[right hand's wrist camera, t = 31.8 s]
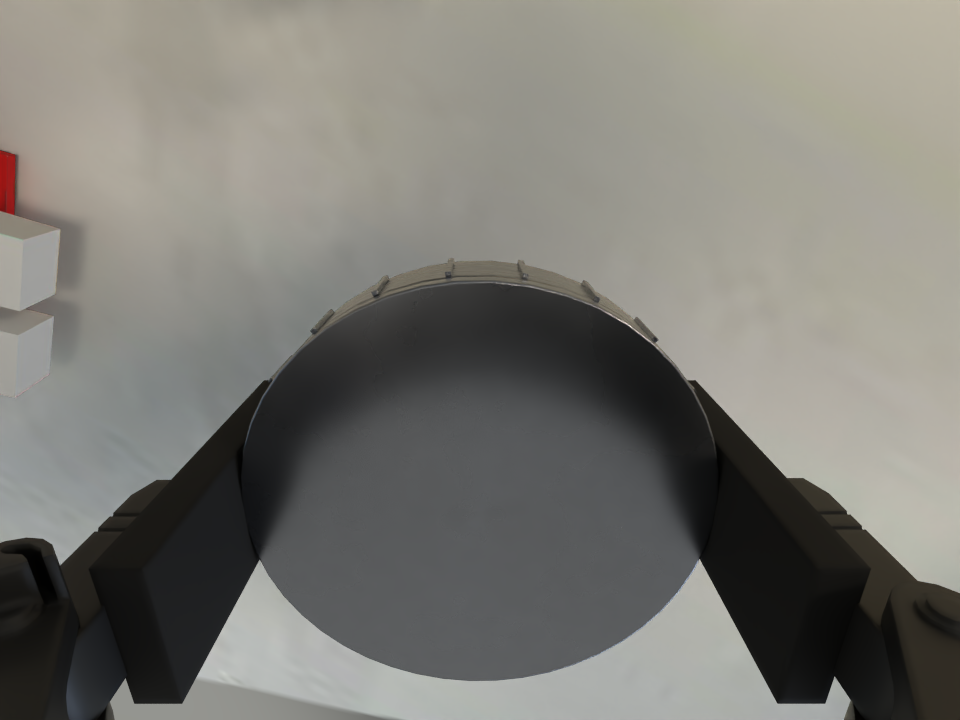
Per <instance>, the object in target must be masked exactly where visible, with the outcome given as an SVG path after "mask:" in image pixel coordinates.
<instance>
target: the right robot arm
mask: <svg viewBox="0 0 960 720" xmlns="http://www.w3.org/2000/svg"><path fill="white" fill-rule="evenodd" d="M687 381H688V382H689V383H690V384H691V385H692V386H693V387H694V388H695V390H696V393H695V394H696V396H697V398H698V400H699V402H700V404H701V406H702V408H703V410H704V412H705V414H706V416H707V419H708V422H709V426H710V429H711V432H712V435H713V438H714V442H715V447H716V454H717V461H718V469H719V480H718V499H717V504H716V509H715V514H714V520H713V524H712V529H711V532H710V535H709V538H708V541H707V544H706V547H705V549H704V551H703V553H702V555H701V557H700V560H701V562H702V564H703V566H704V568H705V569H706V571H707V573H708V575H709V577H710V579H711V581H712V582H713V584H714V586H715V588H716V590H717V592H718V594H719V596H720V597H721V599H722V601H723V603H724V605H725V607H726V609H727V610H728V612H729V614H730V616H731V618H732V620H733V622H734V623H735V625H736V627H737V629H738V631H739V633H740V635H741V636H742V638H743V640H744V642H745V644H746V646H747V648H748V649H749V651H750V653H751V655H752V657H753V659H754V661H755V663H756V664H757V666H758V668H759V670H760V672H761V674H762V676H763V677H764V679H765V681H766V683H767V685H768V687H769V689H770V690H771V692H772V694H773V696H774V698H775V700H776V702H777V703H778V704H825V703H826V700H827V697H828V694H829V691H830V688H831V685H832V682H833V679H834V676H835V677H836V679H837V680H838V682H839V683H840V685H841V686H842V688H843V689H844V691H845V692H846V694H847V695H848V696H849V698H850V699H851V701H850V704H849V707H848V710H847V712H846V715H845V718H844V720H960V593H958V592H955V591H952V590H950V589H947V588H944V587H942V586H939V585H936V584H931V583H925V582H920V581H917V580H916V579H915V578H914V577H913V576H912V575H911V574H910V573H909V572H908V571H907V570H906V569H905V568H904V567H903V566H902V565H901V564H900V563H899V562H898V561H897V560H896V559H895V558H894V557H893V556H892V555H891V554H890V553H889V552H888V551H887V550H886V549H885V548H884V547H883V546H882V545H881V544H880V543H879V542H878V541H877V540H876V539H875V538H874V537H872V536H871V535H870V534H869V533H868V532H867V531H866V530H862V526H861V525H860V524H859V523H858V522H857V521H856V520H855V519H854V518H853V517H852V516H851V515H847V511H846V510H845V509H844V508H843V507H842V506H841V505H840V504H839V503H838V502H837V501H836V500H835V499H834V498H833V497H832V496H831V495H830V494H829V493H827V492H826V491H824V490H822V489H820V488H819V487H817V486H815V485H814V484H812V483H810V482H809V481H807V480H805V479H804V478H786V477H785V476H784V475H783V474H782V473H781V471H780V470H779V469H778V468H777V467H776V466H775V465H774V464H773V463H772V462H771V461H770V460H769V459H768V458H767V456H766V455H765V454H764V453H763V452H762V451H761V450H760V449H759V448H758V447H757V446H756V445H755V444H754V443H753V441H752V440H751V439H750V438H749V437H748V436H747V435H746V434H745V433H744V432H743V431H742V430H741V429H740V428H739V427H738V425H737V424H736V423H735V422H734V421H733V420H732V419H731V418H730V417H729V416H728V415H727V414H726V413H725V412H724V410H723V409H722V408H721V407H720V406H719V405H718V404H717V403H716V402H715V401H714V400H713V399H712V398H711V397H710V395H709V394H708V393H707V392H706V391H705V390H704V389H703V388H702V387H701V386H700V385H699V384H698V383H697V382H696V380H687ZM269 385H270V383H269V380H264V381H263V382H262V383H261V384H260V385H259V387H258V388H257V389H256V390H255V391H254V392H253V393H252V394H251V395H250V396H249V397H248V398H247V399H246V400H245V402H244V403H243V404H242V405H241V406H240V407H239V408H238V409H237V410H236V411H235V412H234V413H233V414H232V415H231V416H230V418H229V419H228V420H227V421H226V422H225V423H224V424H223V425H222V426H221V427H220V428H219V429H218V430H217V431H216V433H215V434H214V435H213V436H212V437H211V438H210V439H209V440H208V441H207V442H206V443H205V444H204V445H203V446H202V448H201V449H200V450H199V451H198V452H197V453H196V454H195V455H194V456H193V457H192V458H191V459H190V460H189V461H188V462H187V464H186V465H185V466H184V467H183V468H182V469H181V470H180V471H179V472H178V473H177V474H176V475H175V476H174V477H173V479H172V480H156V481H154V482H153V483H151V484H149V485H148V486H146V487H144V488H143V489H141V490H139V491H138V492H136V493H134V494H133V495H131V496H130V497H129V498H128V499H127V500H126V501H125V502H124V503H123V504H122V505H121V506H120V507H119V508H118V509H117V510H116V511H115V512H114V513H113V517H109V518H108V519H107V520H106V521H105V522H104V523H103V524H102V525H101V526H100V527H99V528H98V532H94V533H93V534H92V535H91V536H90V537H89V538H88V539H87V540H86V541H85V542H84V543H83V544H82V545H81V546H80V547H79V548H78V549H77V550H76V551H75V552H74V553H73V554H72V555H71V556H70V557H69V558H68V559H67V560H66V561H64V562H63V563H62V564H61V565H59V562H58V559H57V557H56V554H55V551H54V548H53V546H52V544H50V543H49V542H47V541H45V540H44V539H37V538H22V539H16V540H10V541H5V542H2V543H0V720H114V715H113V710H112V707H111V704H110V700H111V699H112V697H113V696H114V694H115V693H116V691H117V690H118V688H119V687H120V685H121V684H122V682H123V681H124V679H125V678H126V680H127V683H128V686H129V689H130V692H131V695H132V698H133V701H134V703H135V704H182V703H183V701H184V699H185V697H186V695H187V694H188V692H189V690H190V688H191V686H192V684H193V682H194V680H195V679H196V677H197V675H198V673H199V671H200V669H201V667H202V666H203V664H204V662H205V660H206V658H207V656H208V654H209V653H210V651H211V649H212V647H213V645H214V643H215V641H216V640H217V638H218V636H219V634H220V632H221V630H222V628H223V627H224V625H225V623H226V621H227V619H228V617H229V615H230V613H231V612H232V610H233V608H234V606H235V604H236V602H237V600H238V599H239V597H240V595H241V593H242V591H243V589H244V587H245V586H246V584H247V582H248V580H249V578H250V576H251V574H252V573H253V571H254V569H255V567H256V565H257V563H258V561H259V560H260V559H259V557H258V555H257V553H256V551H255V548H254V545H253V543H252V540H251V537H250V535H249V532H248V527H247V522H246V517H245V512H244V507H243V502H242V496H241V479H240V475H241V466H242V456H243V448H244V444H245V441H246V437H247V433H248V430H249V426H250V422H251V420H252V418H253V416H254V414H255V411H256V409H257V407H258V405H259V402H260V400H261V398H262V396H263V394H264V393H265V391H266V390H267V388H268V387H269Z"/></svg>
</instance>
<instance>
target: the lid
mask: <svg viewBox="0 0 960 720" xmlns="http://www.w3.org/2000/svg"><path fill="white" fill-rule="evenodd" d="M311 332H312V333H313V334H312V335H311V336H310V337H309V338H308V339H307V340H306V342H305V343H304V344H303V345H302V346H301V347H300V348H299V349H298V350H297V352H296V353H295V354H294V355H293V356H292V355H291V356H290V357H289V359H288V360H287V361H286V362H285V363H284V364H283V365H282V366H281V367H280V368H279V370H278V371H277V372H276V373H275V374H274V375H273V376H272V377H271V378H270V380H269V383H270V385H269V387H268V388H267V390H266V391H265V393H264V394H263V396H262V398H261V400H260V402H259V405H258V407H257V409H256V411H255V414H254V416H253V418H252V420H251V422H250V426H249V430H248V433H247V437H246V441H245V444H244V448H243V456H242V466H241V475H240V479H241V496H242V502H243V507H244V512H245V517H246V522H247V527H248V532H249V535H250V537H251V540H252V543H253V545H254V548H255V551H256V553H257V555H258V557H259V559H260V560H261V562H262V564H263V566H264V568H265V570H266V571H267V573H268V575H269V576H270V578H271V579H272V581H273V582H274V583H275V585H276V586H277V587H278V589H279V590H280V591H281V593H282V594H283V595H284V597H285V598H286V599H287V600H288V601H289V602H290V603H291V604H292V605H293V606H294V607H295V608H296V609H297V610H298V611H299V612H300V613H301V614H302V615H303V616H304V617H305V618H306V619H308V620H309V621H310V622H311V623H312V624H314V625H315V626H316V627H317V628H318V629H320V630H321V631H322V632H324V633H325V634H327V635H328V636H330V637H331V638H333V639H334V640H336V641H337V642H339V643H341V644H342V645H344V646H346V647H348V648H349V649H351V650H353V651H355V652H357V653H359V654H361V655H363V656H365V657H367V658H370V659H372V660H375V661H378V662H380V663H383V664H385V665H388V666H390V667H394V668H397V669H401V670H404V671H408V672H412V673H415V674H420V675H426V676H431V677H437V678H442V679H454V680H466V681H493V680H505V679H515V678H523V677H528V676H533V675H538V674H543V673H548V672H552V671H555V670H558V669H562V668H565V667H568V666H571V665H574V664H577V663H579V662H582V661H584V660H586V659H589V658H591V657H594V656H596V655H598V654H600V653H602V652H604V651H606V650H608V649H609V648H611V647H613V646H615V645H617V644H619V643H621V642H622V641H624V640H625V639H626V638H628V637H629V636H631V635H632V634H634V633H635V632H637V631H638V630H639V629H641V628H642V627H644V626H645V625H646V624H647V623H648V622H649V621H650V620H652V619H653V618H654V617H655V616H656V615H657V614H658V613H660V612H661V611H662V610H663V609H664V608H665V606H666V605H667V604H668V603H669V602H670V601H671V600H672V599H673V598H674V596H675V595H676V594H677V593H678V592H679V591H680V589H681V588H682V586H683V585H684V584H685V582H686V581H687V579H688V578H689V576H690V575H691V573H692V572H693V571H694V569H695V567H696V565H697V563H698V561H699V559H700V557H701V555H702V553H703V551H704V549H705V547H706V544H707V541H708V538H709V535H710V532H711V529H712V524H713V520H714V514H715V509H716V504H717V499H718V480H719V469H718V461H717V454H716V447H715V442H714V438H713V435H712V432H711V429H710V426H709V422H708V419H707V416H706V414H705V412H704V410H703V408H702V406H701V404H700V402H699V400H698V398H697V396H696V394H695V393H696V390H695V388H694V387H693V386H692V385H691V384H690V383H689V382H688V381H687V379H686V378H685V377H684V376H683V374H682V373H681V372H680V370H679V369H678V367H677V366H676V365H675V364H674V363H673V361H672V360H671V359H670V358H669V357H668V356H667V355H666V354H665V353H664V352H663V351H662V349H661V348H660V347H659V346H658V345H657V344H656V342H657V341H658V338H657V337H656V336H655V335H654V334H653V333H652V332H651V331H650V330H649V329H648V328H647V327H646V326H645V325H644V324H643V323H642V321H641V320H640V319H639V318H638V317H636V318H635V319H634V320H633V319H632V318H631V317H630V316H629V315H628V314H627V313H626V312H624V311H623V310H622V309H620V308H619V307H618V306H617V305H615V304H614V303H613V302H611V301H610V300H609V299H607V298H606V297H604V296H602V295H601V294H599V293H597V292H595V290H594V289H593V288H592V287H591V286H590V284H589V283H588V282H586V281H583V282H582V284H581V283H579V282H576V281H574V280H571V279H569V278H566V277H564V276H561V275H559V274H556V273H554V272H551V271H547V270H543V269H539V268H535V267H531V266H527V265H525V263H524V261H522V260H518V264H514V263H506V262H497V261H459V262H454V258H450V259H449V260H448V263H446V264H439V265H432V266H427V267H424V268H420V269H417V270H413V271H410V272H406V273H403V274H400V275H397V276H395V277H393V278H390V279H389V278H388V276H387V275H386V276H384V277H382V279H381V280H380V281H379V283H378V284H377V285H374V286H372V287H370V288H369V289H367V290H366V291H364V292H362V293H361V294H359V295H357V296H356V297H354V298H353V299H351V300H349V301H348V302H346V303H345V304H344V305H343V306H341V307H340V308H339V309H338V310H337V311H335V312H334V311H333V310H332V309H331V310H330V311H328V312H327V313H326V315H325V316H324V317H323V318H322V319H321V320H320V321H319V322H318V323H317V324H316V325H315V326H314V327H313V328H312V329H311Z"/></svg>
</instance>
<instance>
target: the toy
mask: <svg viewBox="0 0 960 720" xmlns="http://www.w3.org/2000/svg"><path fill="white" fill-rule="evenodd" d="M14 205H15V155H14V154H11V153H7V152H4V151H0V395H3V396H8V397H12V398H16V397H17V396H19V395H20V394H22V393H23V392H25V391H26V390H28V389H29V388H30V387H32V386H33V385H35V384H36V383H38V382H39V381H40V380H42V379H43V378H45V377H46V376H48V375H49V374H50V362H51V348H52V335H53V322H54V316H51V315H47V314H44V313H40V312H36V311H32V310H28V309H25V308H28V307H30V306H32V305H34V304H36V303H38V302H40V301H42V300H44V299H46V298H48V297H50V296H53V295H55V294H56V283H57V270H58V257H59V243H60V230H61V229H60V228H56V227H53V226H50V225H46V224H43V223H39V222H36V221H32V220H29V219H26V218H22V217H19V216H15V215H14Z"/></svg>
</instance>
